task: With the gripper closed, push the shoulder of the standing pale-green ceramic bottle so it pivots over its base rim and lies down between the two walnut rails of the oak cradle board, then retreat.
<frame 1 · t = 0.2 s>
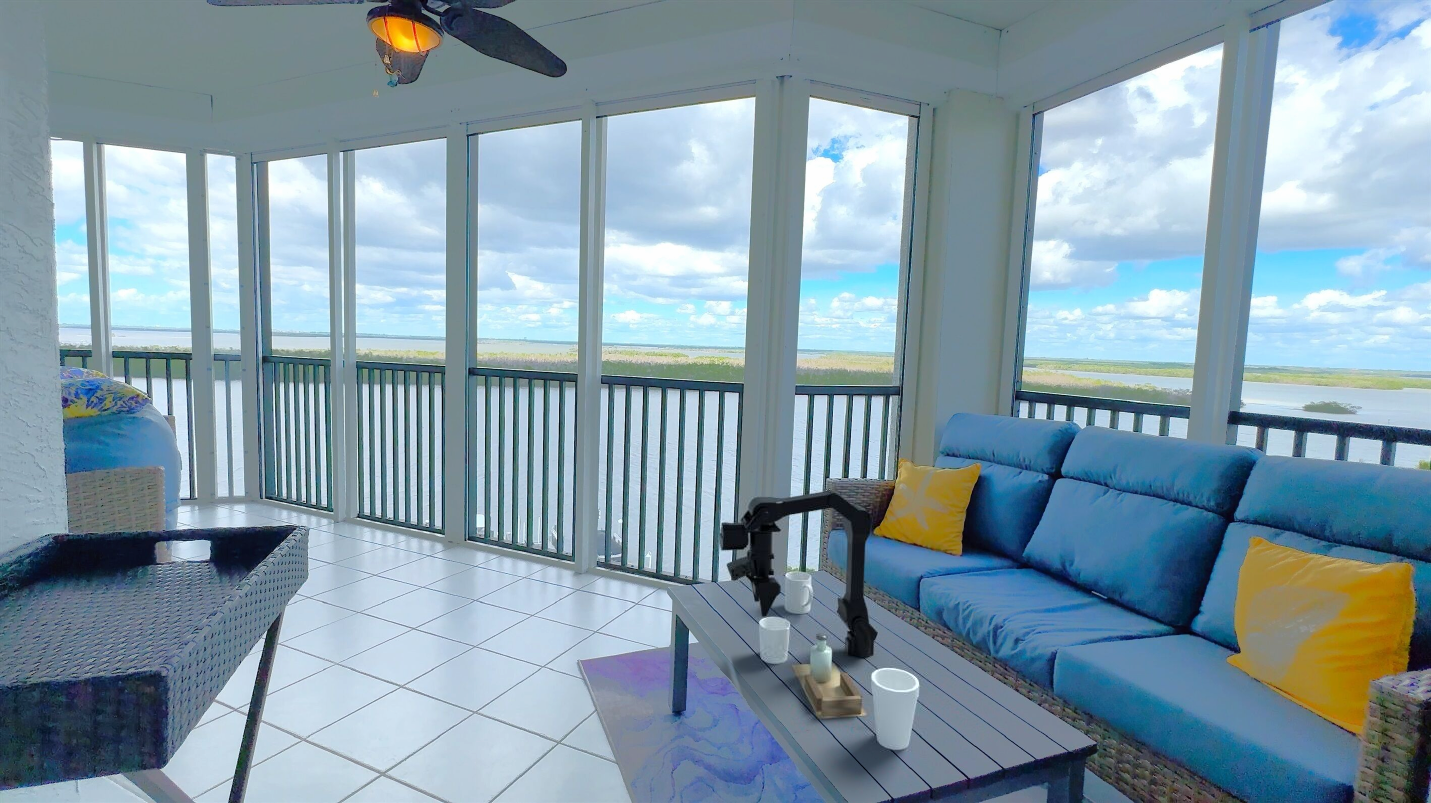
hand: (760, 608, 160), 14 cm above the table, fingers open, 9 cm apart
cradle board: (826, 692, 147), on the table
white cup: (773, 661, 162), on the table
foam cup: (892, 741, 129), on the table
mug: (800, 612, 192), on the table
bottle: (820, 677, 152), point 1 cm above the table, touching cradle board
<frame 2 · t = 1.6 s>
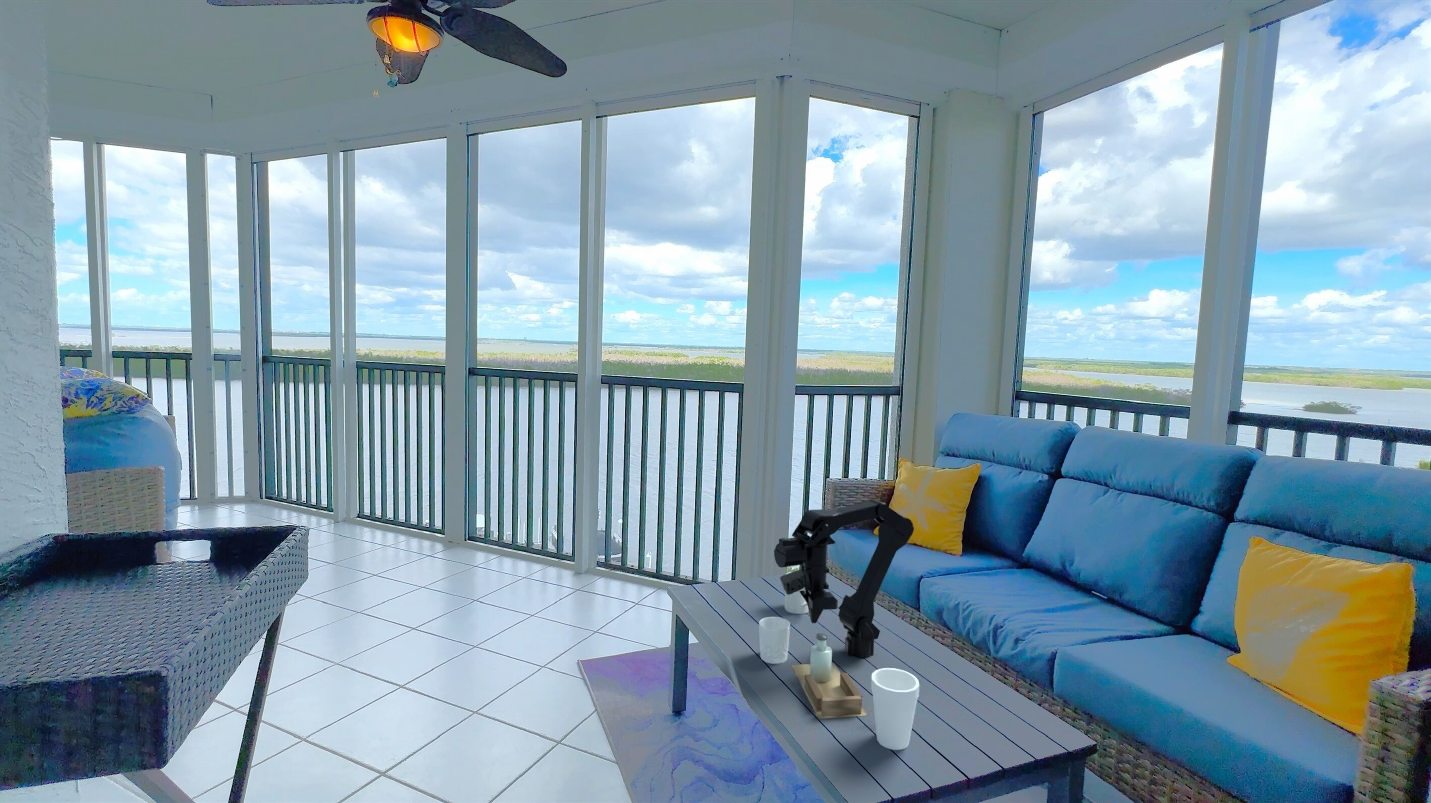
hand: (813, 622, 158), 11 cm above the table, fingers closed
nothing on the table moved.
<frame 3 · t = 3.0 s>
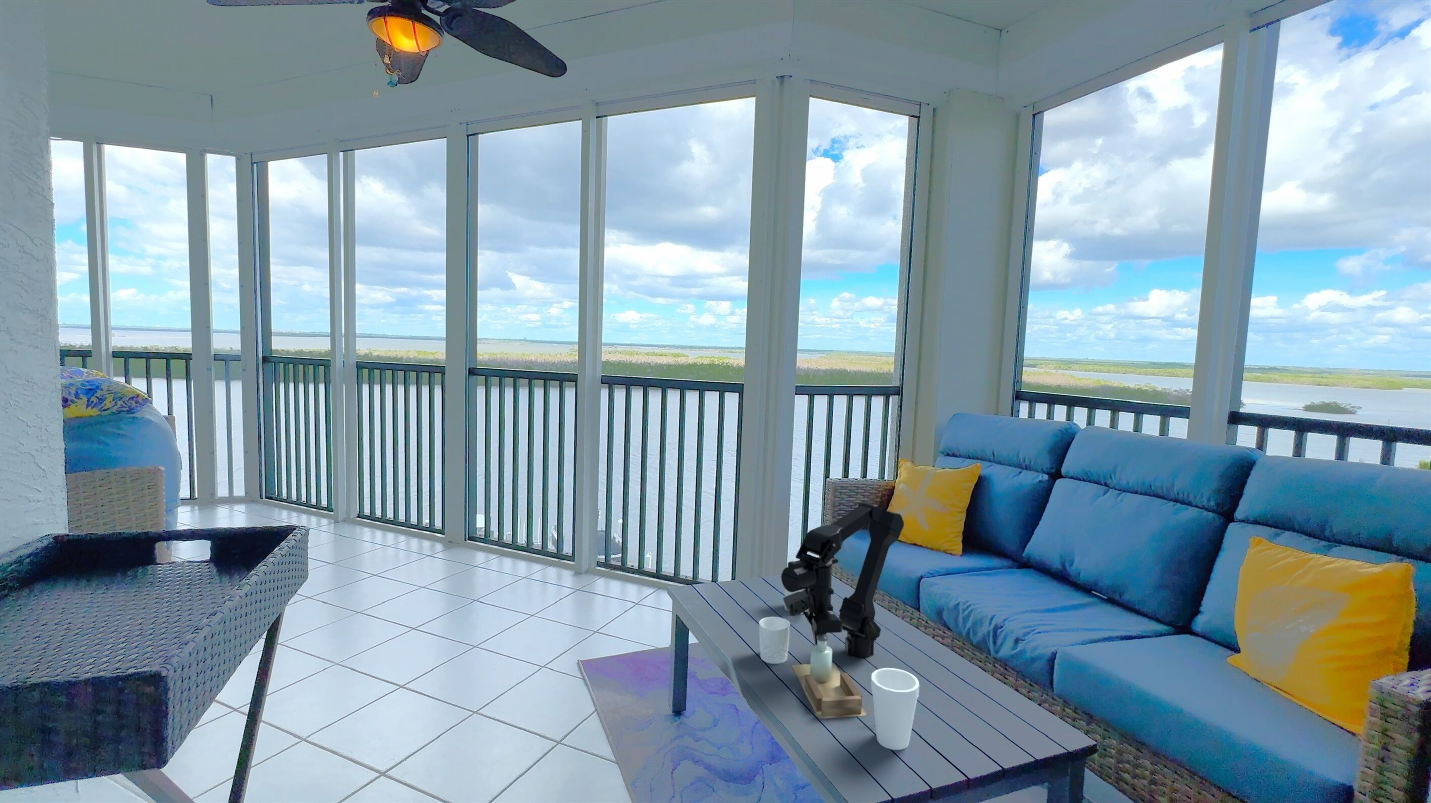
hand: (817, 644, 154), 8 cm above the table, fingers closed
bottle: (820, 676, 152), point 1 cm above the table, touching cradle board, gripper
everything else where it was.
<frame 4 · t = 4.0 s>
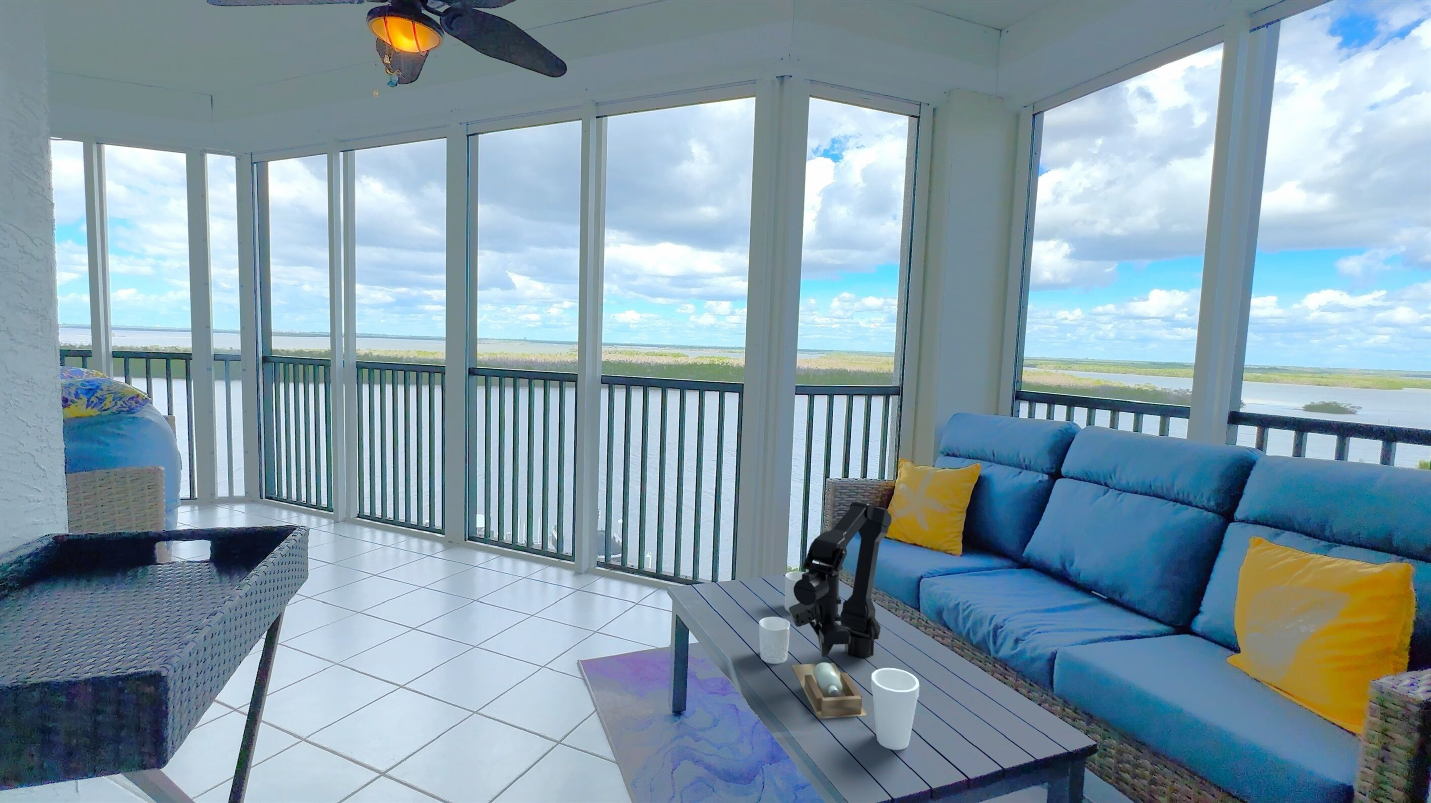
hand: (824, 656, 149), 8 cm above the table, fingers closed
bottle: (823, 672, 149), point 3 cm above the table, tilted 90°, touching cradle board
everything else where it was.
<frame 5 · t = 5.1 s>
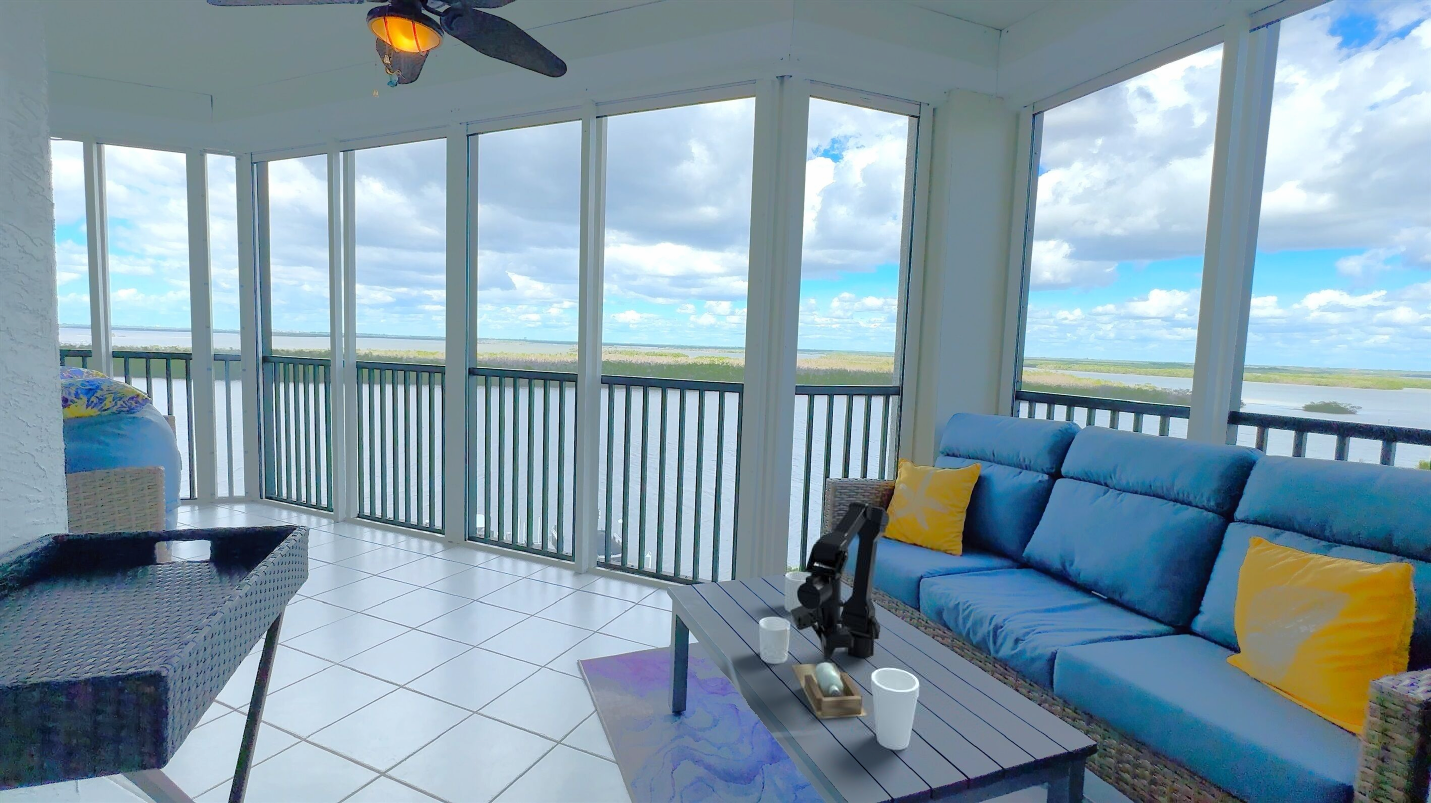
hand: (826, 659, 148), 7 cm above the table, fingers closed
nothing on the table moved.
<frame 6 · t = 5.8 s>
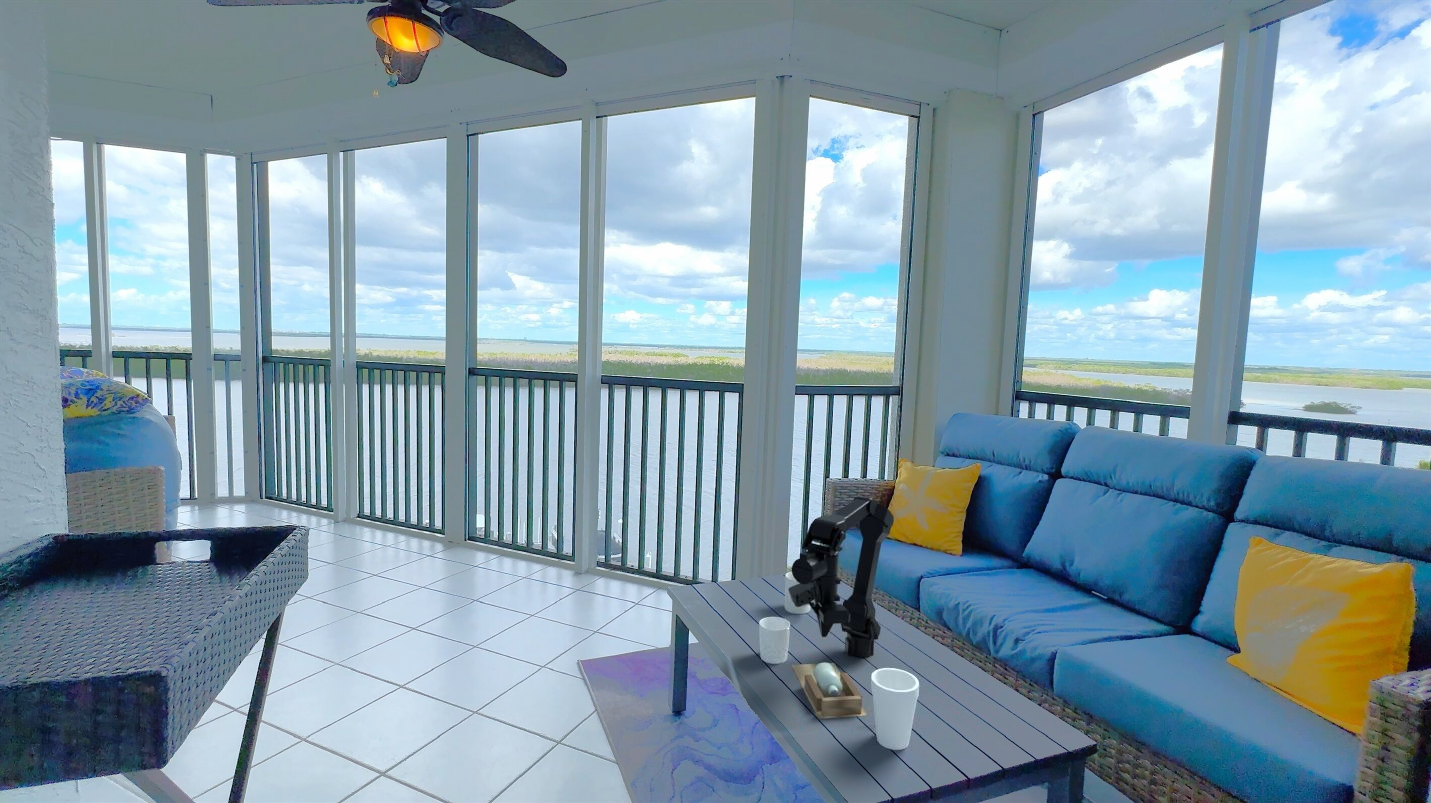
hand: (823, 636, 150), 12 cm above the table, fingers closed
nothing on the table moved.
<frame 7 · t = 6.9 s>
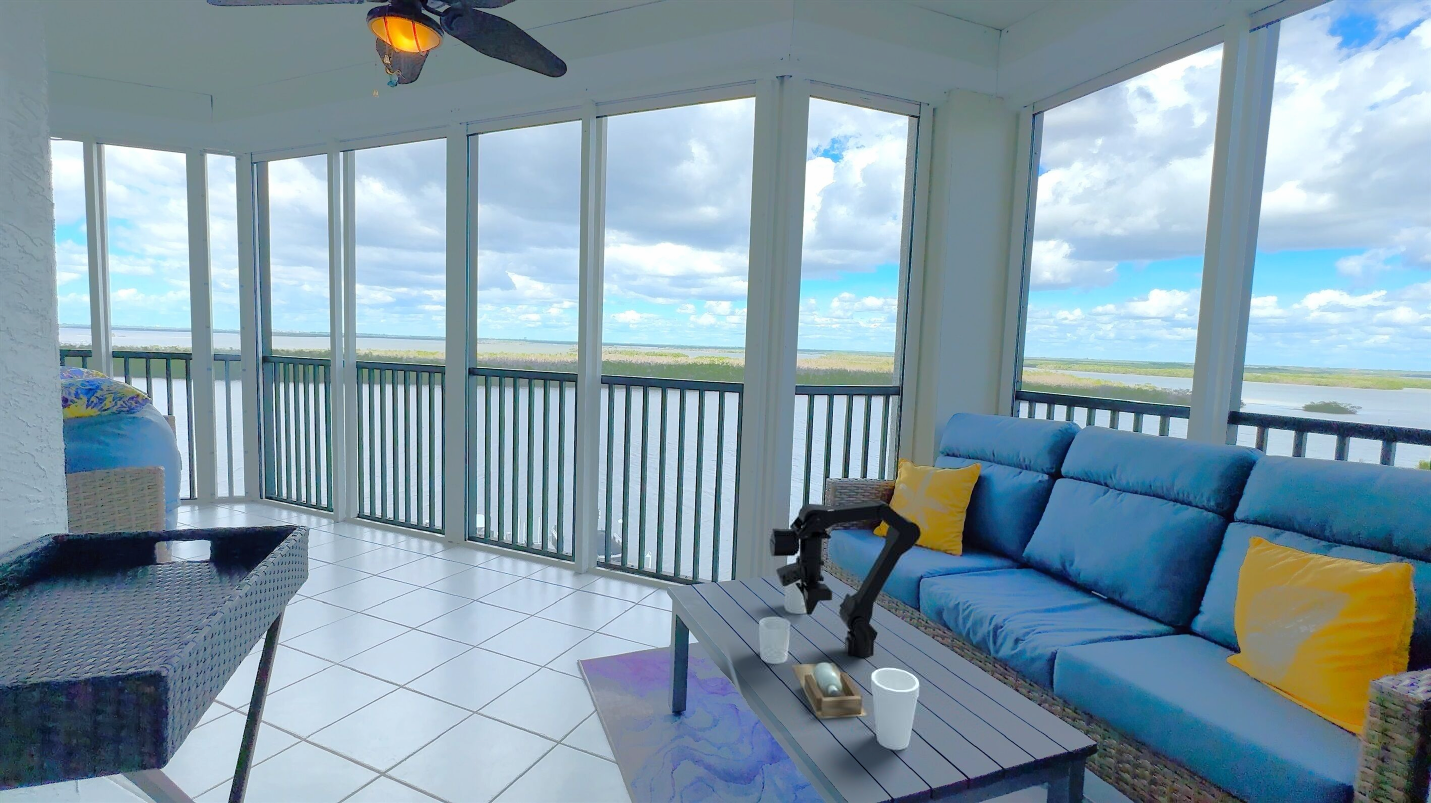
hand: (808, 614, 162), 12 cm above the table, fingers closed
nothing on the table moved.
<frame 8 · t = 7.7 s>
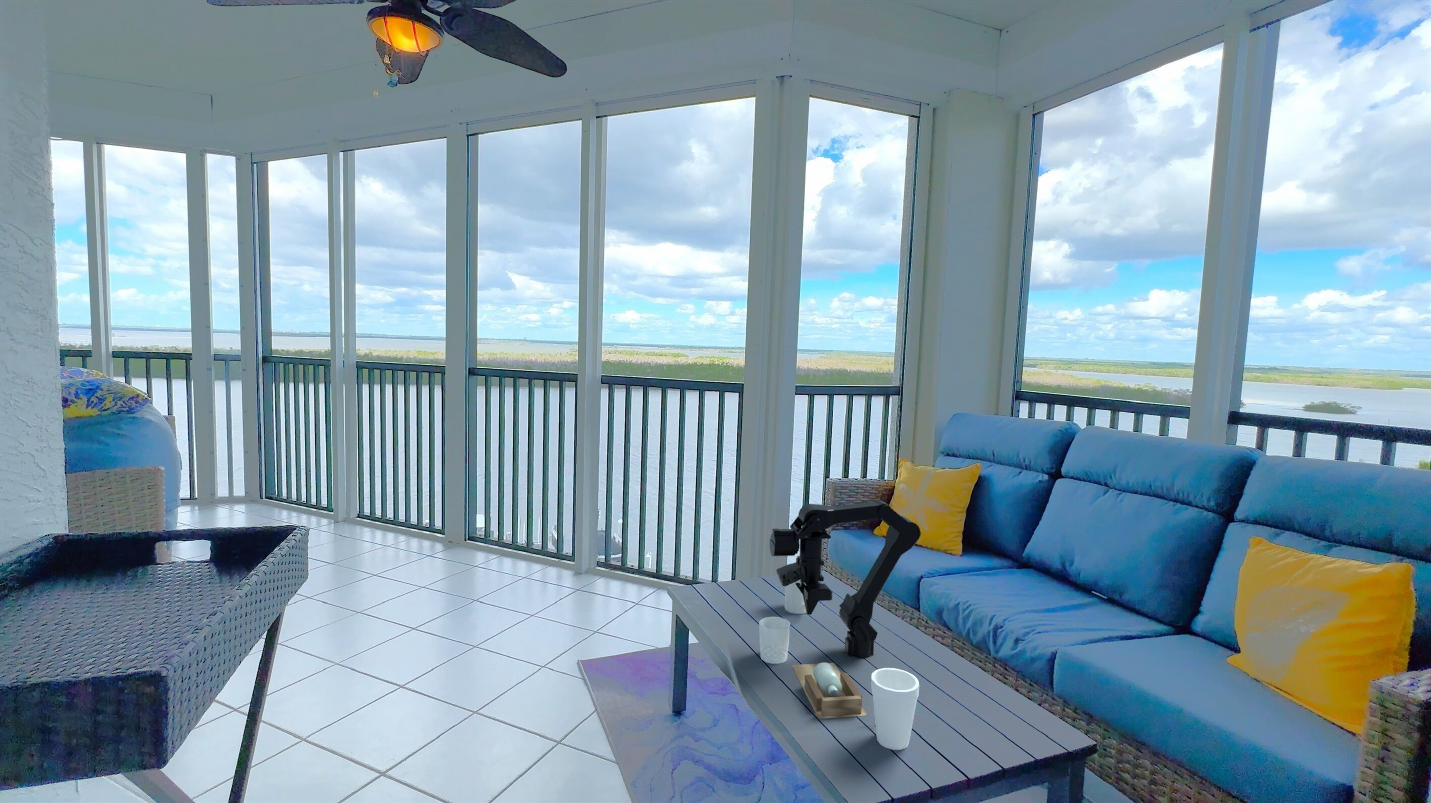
hand: (808, 614, 162), 12 cm above the table, fingers closed
nothing on the table moved.
at the end: bottle tilted 90°; bottle inside the target area (3.0 cm from its centre), point 3.5 cm above the table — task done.
